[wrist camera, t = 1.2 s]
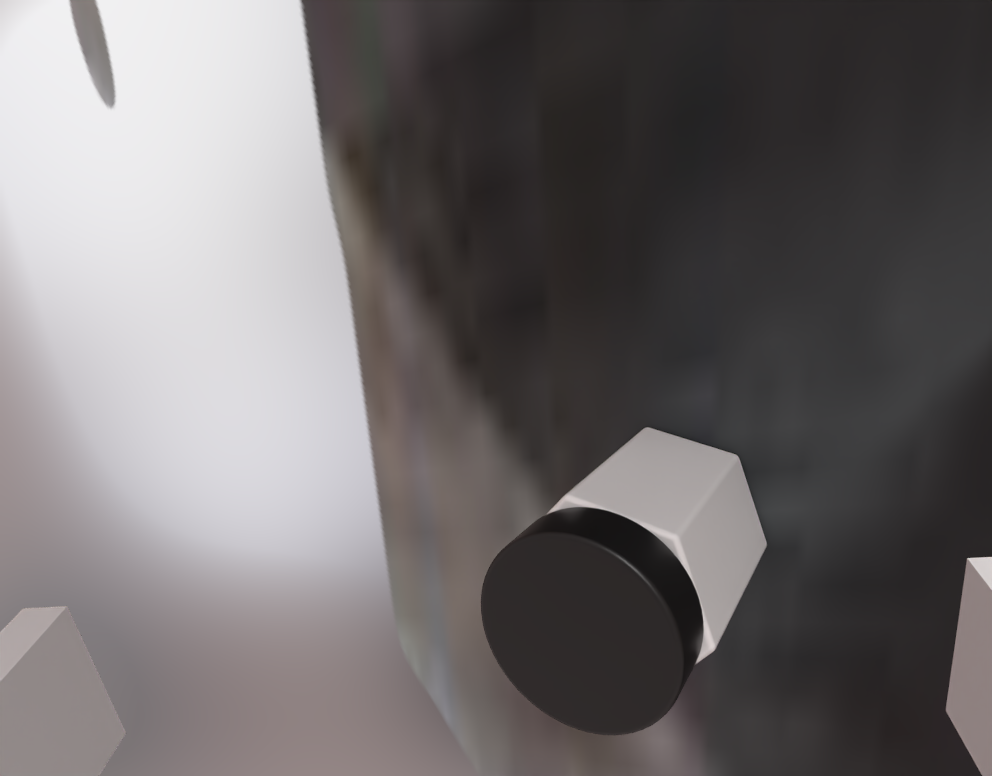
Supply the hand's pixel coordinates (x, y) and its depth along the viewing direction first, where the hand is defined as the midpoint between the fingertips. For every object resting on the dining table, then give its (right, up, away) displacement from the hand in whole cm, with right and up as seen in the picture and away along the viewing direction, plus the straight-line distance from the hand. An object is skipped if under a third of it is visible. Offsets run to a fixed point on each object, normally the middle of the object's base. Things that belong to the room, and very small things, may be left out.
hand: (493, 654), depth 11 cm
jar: (+9, -2, +26) cm, 28 cm away
